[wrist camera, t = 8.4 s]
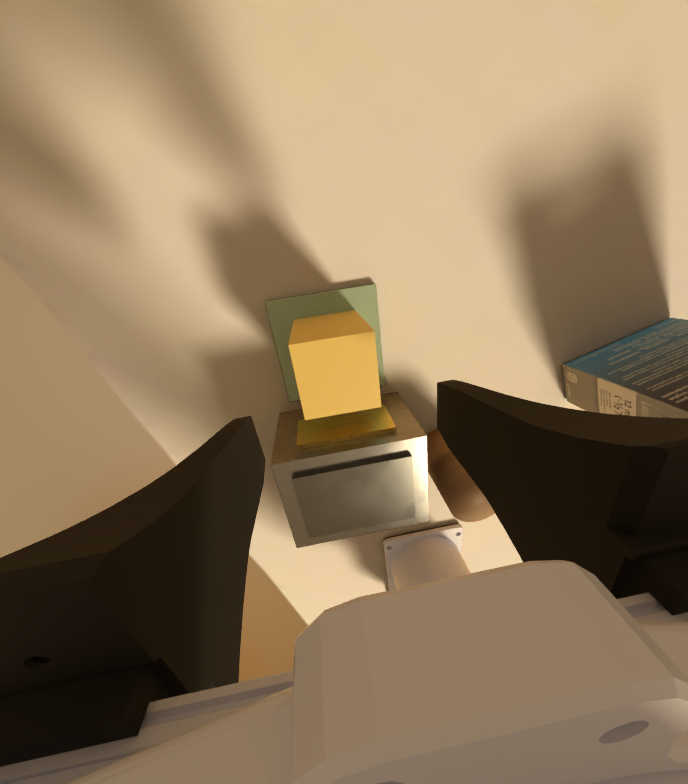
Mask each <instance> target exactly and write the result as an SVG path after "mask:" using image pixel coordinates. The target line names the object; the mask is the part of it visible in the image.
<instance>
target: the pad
mask: <svg viewBox="0 0 688 784" xmlns="http://www.w3.org/2000/svg"><path fill="white" fill-rule="evenodd" d="M265 305H266V309H267V313H268V317H269V321H270V325H271V329H272V333H273V337H274V341H275V345H276V349H277V353H278V357H279V361H280V365H281V369H282V373H283V377H284V381H285V385H286V389H287V393H288V397H289V401H290V402H291V401H297V400H300V396H299V391H298V387H297V382H296V377H295V373H294V368H293V364H292V359H291V355H290V350H289V346H288V344H289V339H290V335H291V330H292V325H293V320H295V319H301V318H307V317H314V316H320V315H326V314H333V313H339V312H346V311H352V310H356V311H357V313H358V314H359V315H360V316H361V317H362V318H363V319H364V320H365V321H366V322H367V323H368V324H369V325H370V327H371V328H372V329H373V330H374V331H375V339H376V351H377V362H378V373H379V385H380V386H381V385H385V382H384V371H383V360H382V348H381V337H380V326H379V314H378V303H377V292H376V284H369V285H363V286H356V287H350V288H344V289H338V290H332V291H326V292H319V293H313V294H307V295H301V296H295V297H289V298H283V299H276V300H270V301H265Z"/></svg>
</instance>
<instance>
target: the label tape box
mask: <svg viewBox="0 0 688 784" xmlns="http://www.w3.org/2000/svg"><path fill="white" fill-rule="evenodd" d="M562 368H563V377H564V385H565V391H566V397H567V401H568V402H570V403H572V404H574V405H576V406H578V407H580V408H581V409H583V410H585V411H589V412H597V413H605V414H615V415H626V416H641V417H658V418H688V320H684V319H677V318H669V319H666V320H664V321H662V322H660V323H657V324H655V325H653V326H651V327H648V328H646V329H644V330H641V331H639V332H637V333H635V334H632V335H630V336H628V337H625V338H623V339H621V340H618V341H616V342H614V343H612V344H609V345H607V346H605V347H602V348H600V349H598V350H596V351H593V352H591V353H589V354H586V355H584V356H582V357H579V358H577V359H575V360H573V361H570V362H568V363H566V364H563V365H562Z"/></svg>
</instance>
